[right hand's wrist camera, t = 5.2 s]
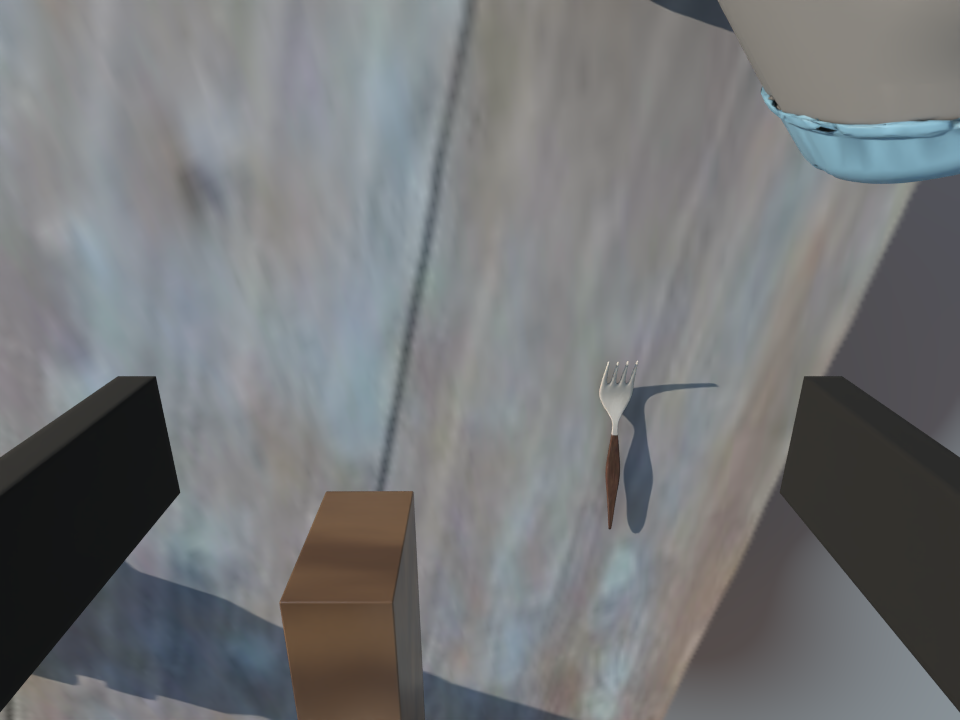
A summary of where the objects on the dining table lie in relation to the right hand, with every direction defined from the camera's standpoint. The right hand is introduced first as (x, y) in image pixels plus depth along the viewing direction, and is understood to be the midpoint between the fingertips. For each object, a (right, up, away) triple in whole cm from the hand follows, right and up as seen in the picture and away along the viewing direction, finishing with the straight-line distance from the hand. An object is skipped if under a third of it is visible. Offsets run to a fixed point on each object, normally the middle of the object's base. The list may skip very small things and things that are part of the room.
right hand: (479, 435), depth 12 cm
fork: (+11, -5, +37) cm, 39 cm away
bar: (-7, -19, +29) cm, 35 cm away
